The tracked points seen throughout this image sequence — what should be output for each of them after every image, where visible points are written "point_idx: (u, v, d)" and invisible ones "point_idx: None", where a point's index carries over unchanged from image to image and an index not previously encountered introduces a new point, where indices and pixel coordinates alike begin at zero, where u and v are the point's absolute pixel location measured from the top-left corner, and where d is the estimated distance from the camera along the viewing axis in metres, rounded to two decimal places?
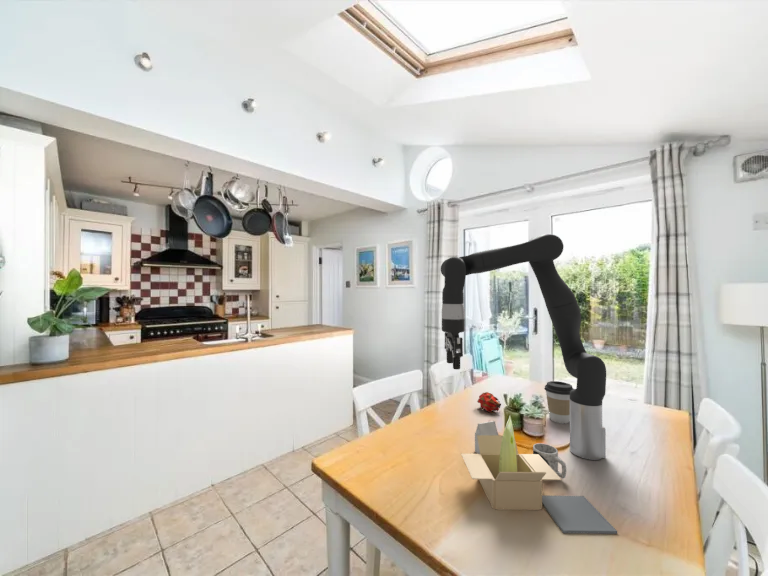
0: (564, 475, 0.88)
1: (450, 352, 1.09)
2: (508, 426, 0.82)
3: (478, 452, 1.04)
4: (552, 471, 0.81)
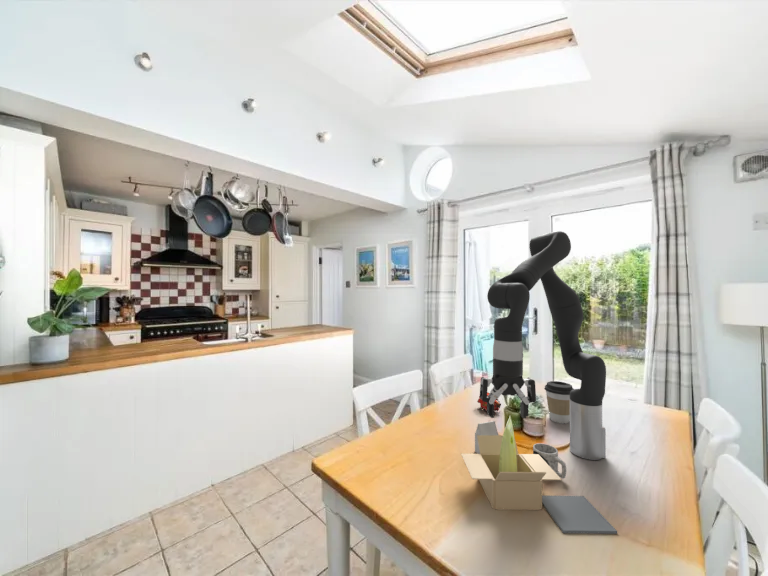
0: (564, 475, 0.88)
1: None
2: (508, 426, 0.82)
3: (478, 452, 1.04)
4: (552, 471, 0.81)
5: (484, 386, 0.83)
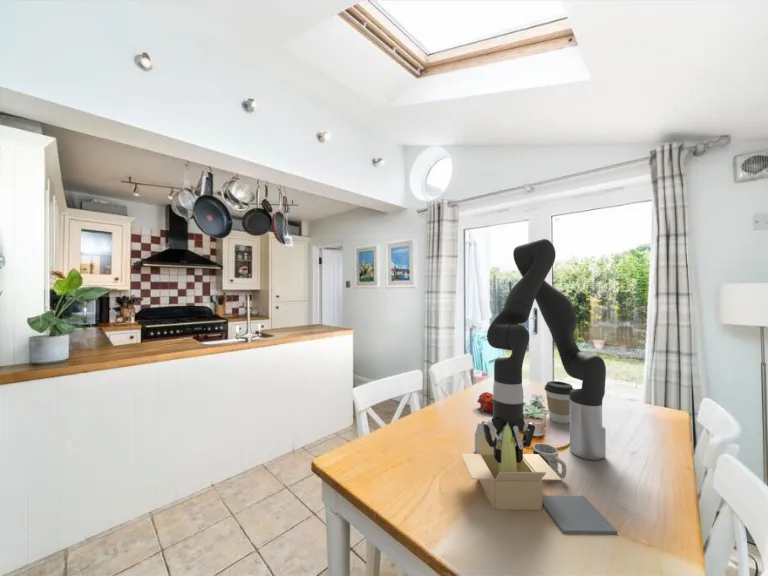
0: (564, 475, 0.88)
1: None
2: (508, 426, 0.82)
3: (478, 452, 1.04)
4: (552, 471, 0.81)
5: (487, 432, 0.83)
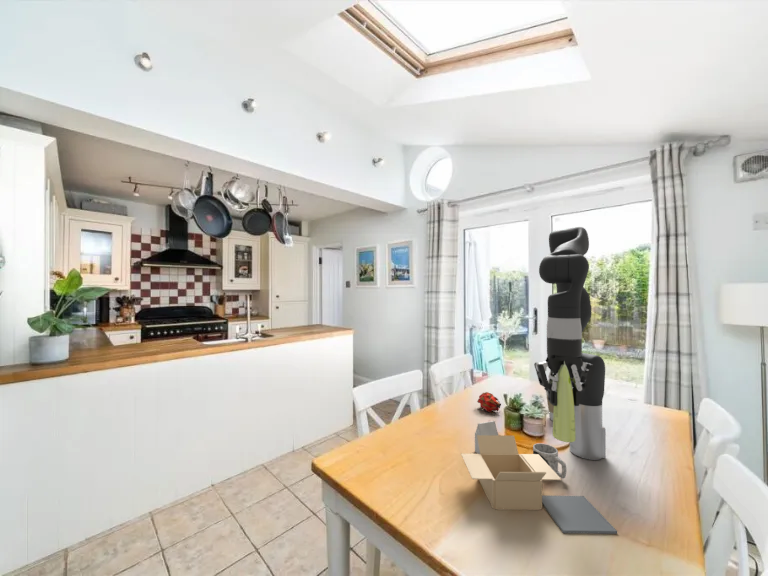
0: (564, 475, 0.88)
1: None
2: (565, 365, 0.76)
3: (478, 452, 1.04)
4: (552, 471, 0.81)
5: (541, 372, 0.76)
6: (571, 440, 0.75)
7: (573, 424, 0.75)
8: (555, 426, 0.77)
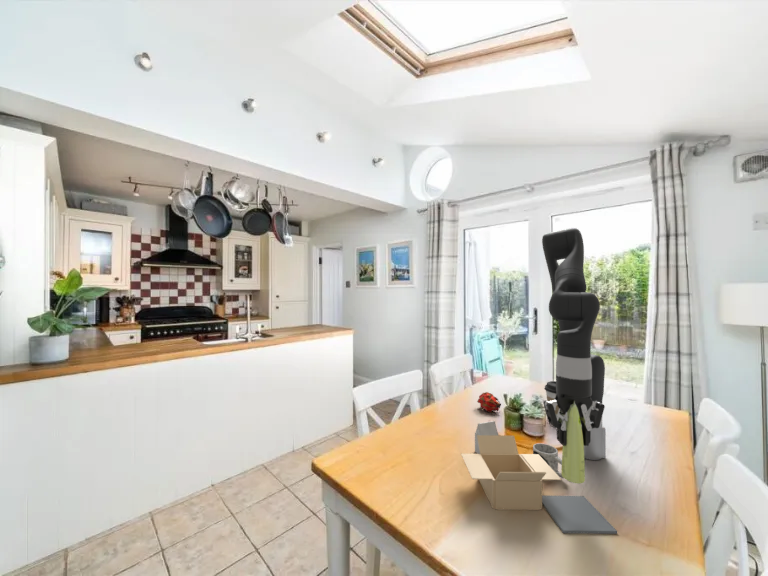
0: None
1: None
2: (575, 405, 0.74)
3: (478, 452, 1.04)
4: (552, 471, 0.81)
5: (551, 411, 0.75)
6: (580, 482, 0.74)
7: (583, 465, 0.74)
8: (564, 466, 0.76)
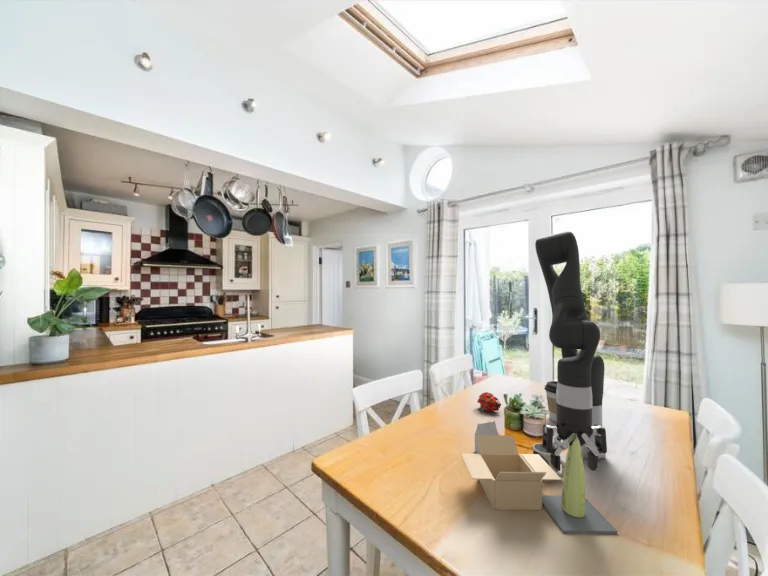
0: None
1: None
2: (577, 438, 0.74)
3: (478, 452, 1.04)
4: (552, 471, 0.81)
5: (549, 436, 0.75)
6: (581, 516, 0.74)
7: (583, 499, 0.74)
8: (564, 499, 0.76)
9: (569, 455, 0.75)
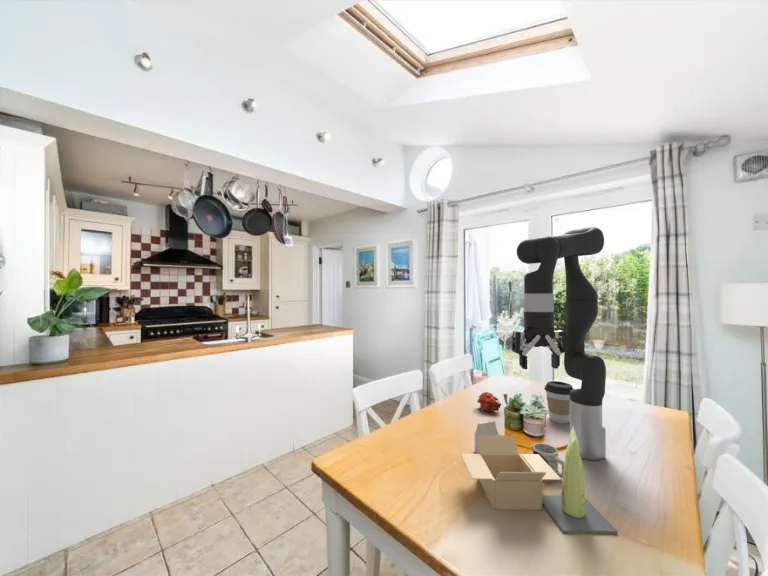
0: None
1: None
2: (575, 438, 0.74)
3: (478, 452, 1.04)
4: (552, 471, 0.81)
5: (517, 338, 0.85)
6: (580, 516, 0.74)
7: (583, 499, 0.74)
8: (564, 499, 0.76)
9: (568, 455, 0.75)
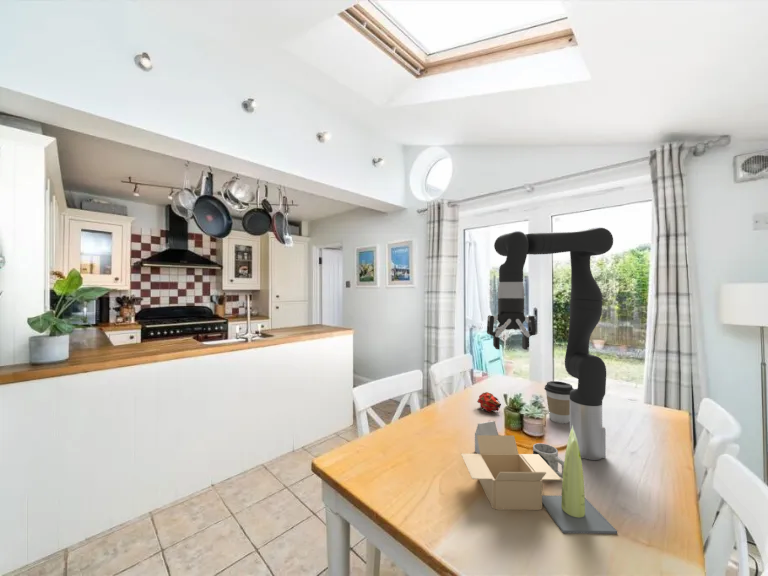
0: None
1: None
2: (575, 438, 0.74)
3: (478, 452, 1.04)
4: (552, 471, 0.81)
5: (491, 322, 0.96)
6: (580, 516, 0.74)
7: (583, 499, 0.74)
8: (564, 499, 0.76)
9: (567, 455, 0.75)
